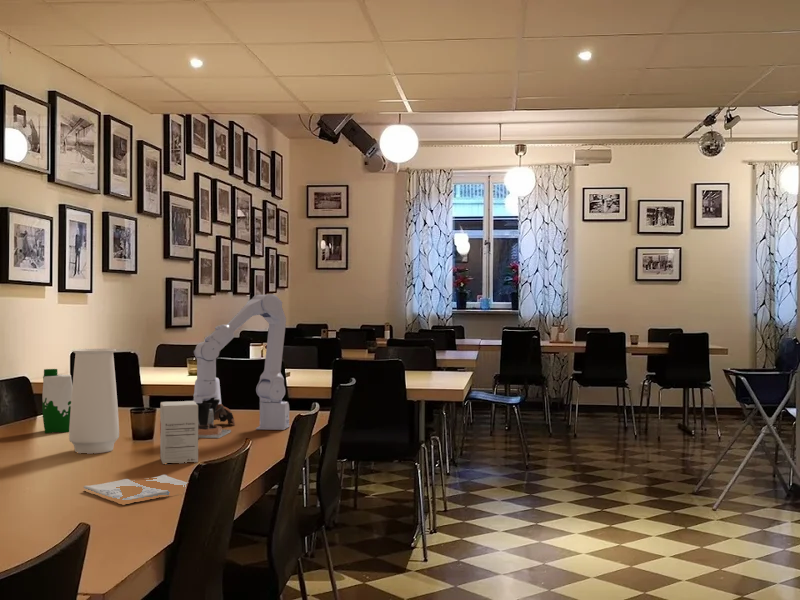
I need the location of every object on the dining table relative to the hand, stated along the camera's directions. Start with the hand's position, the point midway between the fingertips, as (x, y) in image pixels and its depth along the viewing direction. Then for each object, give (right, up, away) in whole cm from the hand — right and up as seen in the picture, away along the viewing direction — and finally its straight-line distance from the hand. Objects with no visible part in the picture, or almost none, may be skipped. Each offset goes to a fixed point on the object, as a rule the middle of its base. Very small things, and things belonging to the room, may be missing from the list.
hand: (206, 423), depth 250 cm
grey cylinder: (0, -2, 0) cm, 2 cm away
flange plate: (0, -3, 0) cm, 3 cm away
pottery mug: (0, -4, +21) cm, 21 cm away
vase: (-25, -3, -28) cm, 37 cm away
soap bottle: (-10, -4, +44) cm, 46 cm away
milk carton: (-50, -4, +8) cm, 51 cm away
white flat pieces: (+6, -3, -77) cm, 77 cm away
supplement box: (+3, -3, -43) cm, 43 cm away
